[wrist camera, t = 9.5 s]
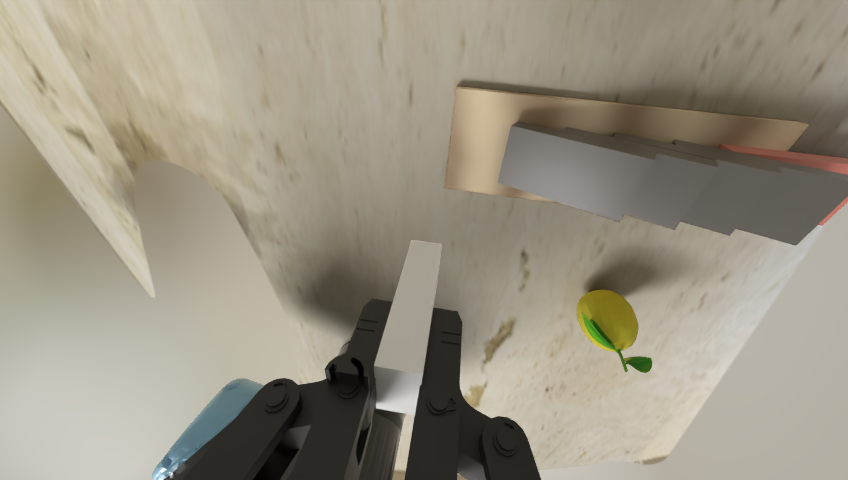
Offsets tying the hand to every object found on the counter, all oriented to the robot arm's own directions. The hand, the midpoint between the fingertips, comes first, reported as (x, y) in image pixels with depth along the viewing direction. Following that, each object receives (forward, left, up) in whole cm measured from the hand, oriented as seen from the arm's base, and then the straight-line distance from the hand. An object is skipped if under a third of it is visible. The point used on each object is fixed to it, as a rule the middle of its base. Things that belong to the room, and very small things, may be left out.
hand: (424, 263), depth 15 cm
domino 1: (+5, +1, -15) cm, 16 cm away
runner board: (+13, +1, -17) cm, 21 cm away
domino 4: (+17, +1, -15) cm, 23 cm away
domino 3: (+13, +1, -15) cm, 20 cm away
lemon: (+19, -15, -17) cm, 30 cm away
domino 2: (+9, +1, -15) cm, 17 cm away
